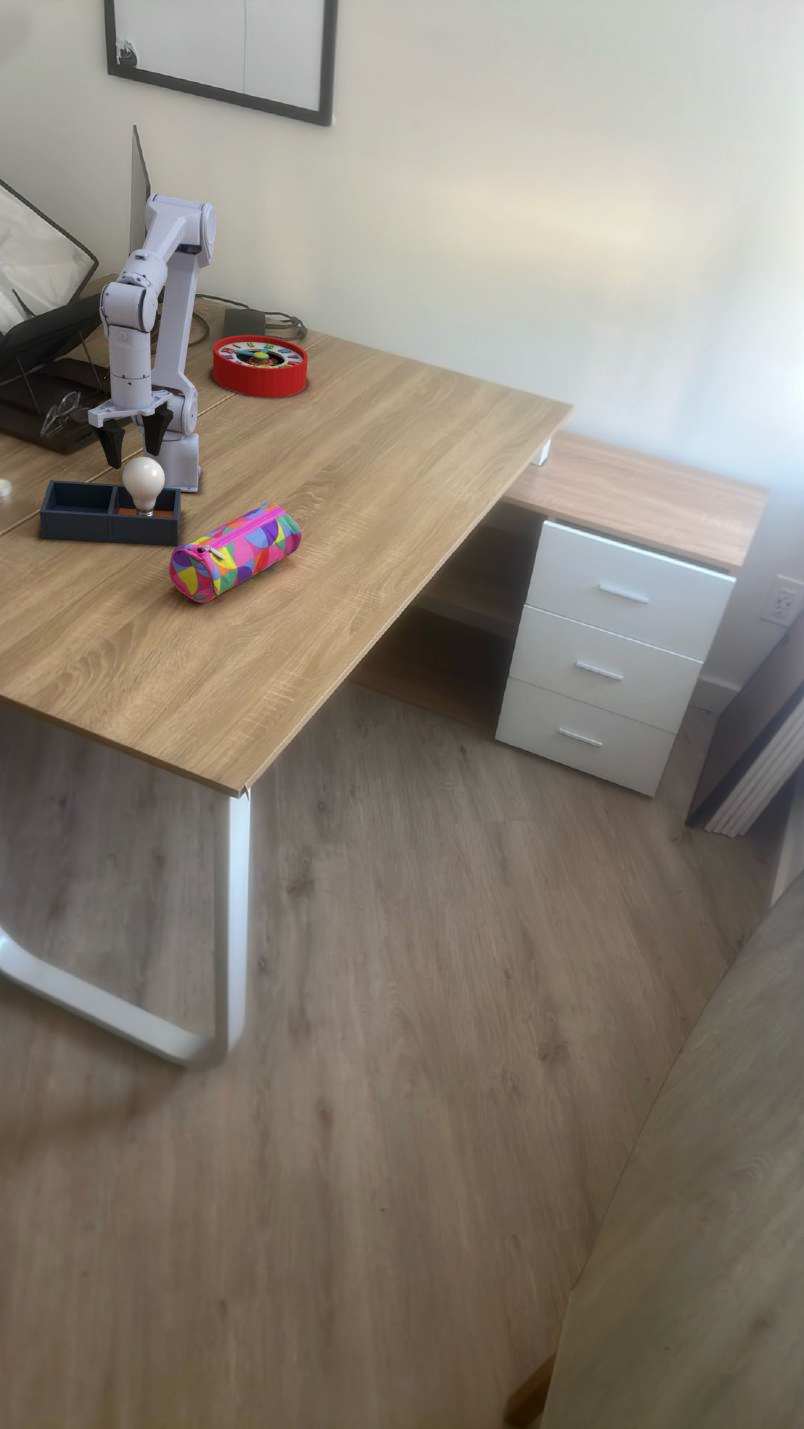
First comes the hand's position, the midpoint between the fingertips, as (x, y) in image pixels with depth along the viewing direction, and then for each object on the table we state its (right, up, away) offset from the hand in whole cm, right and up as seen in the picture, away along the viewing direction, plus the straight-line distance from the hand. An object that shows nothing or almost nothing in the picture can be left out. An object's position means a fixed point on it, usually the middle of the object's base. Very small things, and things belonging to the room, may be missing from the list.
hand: (133, 460), depth 145 cm
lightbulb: (0, -9, +5) cm, 10 cm away
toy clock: (+10, +34, +60) cm, 70 cm away
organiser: (-4, -9, +4) cm, 11 cm away
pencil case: (+16, -18, -2) cm, 25 cm away
